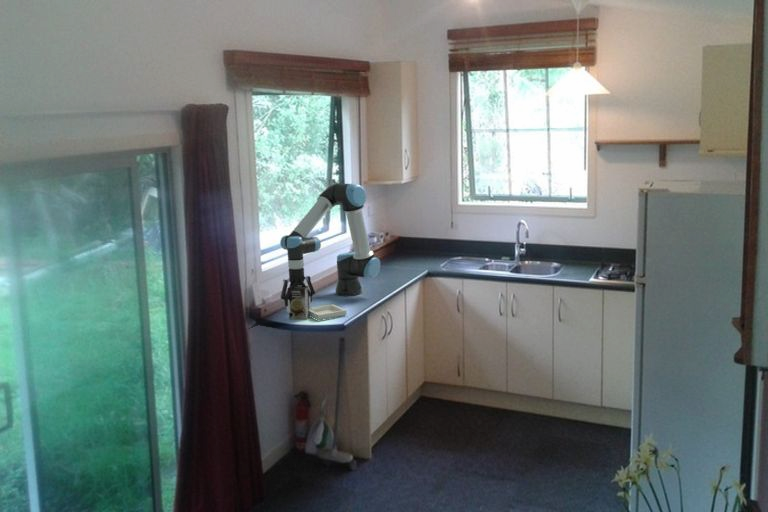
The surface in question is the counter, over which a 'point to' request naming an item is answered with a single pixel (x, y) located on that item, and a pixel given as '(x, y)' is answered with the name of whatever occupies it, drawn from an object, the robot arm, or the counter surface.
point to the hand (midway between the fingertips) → (299, 310)
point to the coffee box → (299, 303)
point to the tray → (326, 312)
